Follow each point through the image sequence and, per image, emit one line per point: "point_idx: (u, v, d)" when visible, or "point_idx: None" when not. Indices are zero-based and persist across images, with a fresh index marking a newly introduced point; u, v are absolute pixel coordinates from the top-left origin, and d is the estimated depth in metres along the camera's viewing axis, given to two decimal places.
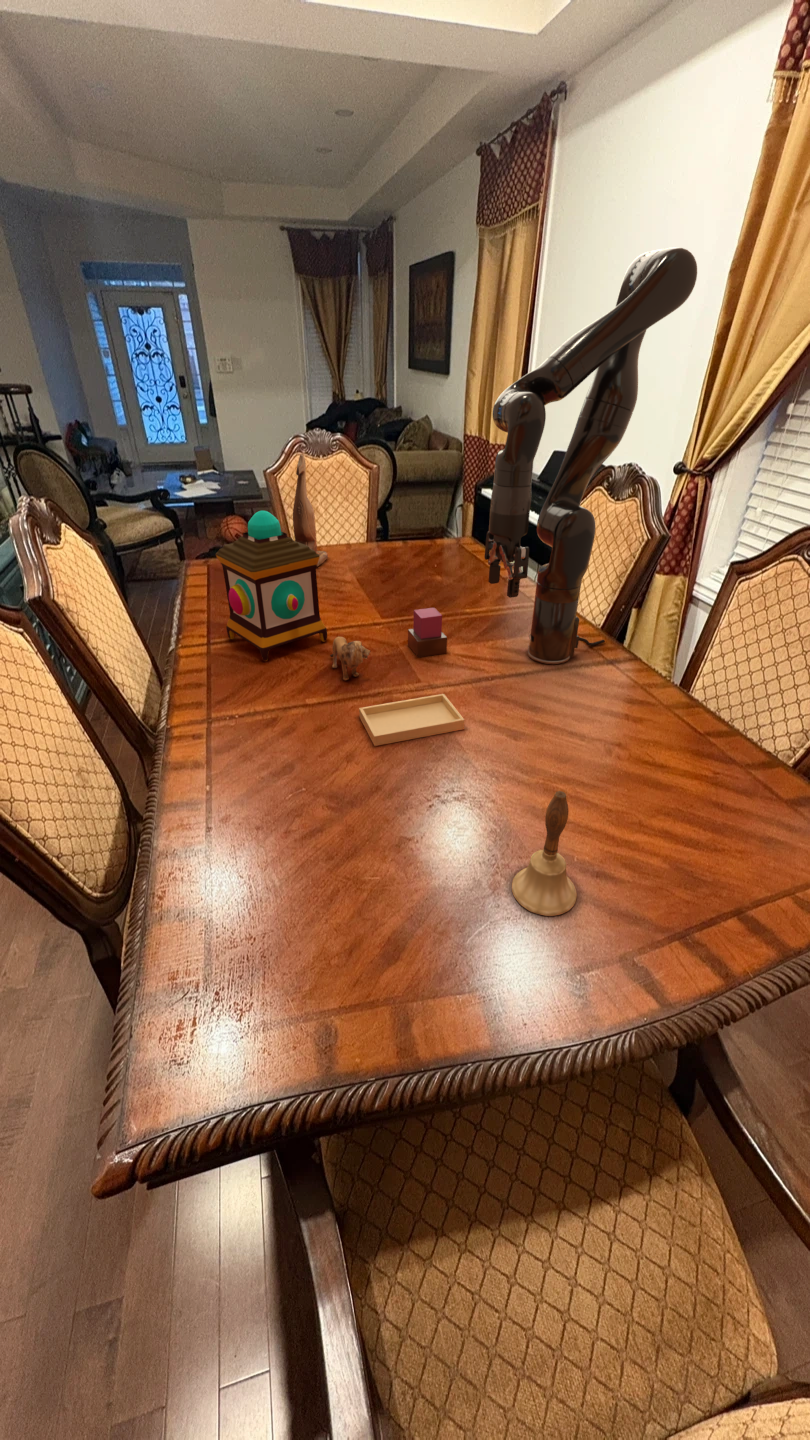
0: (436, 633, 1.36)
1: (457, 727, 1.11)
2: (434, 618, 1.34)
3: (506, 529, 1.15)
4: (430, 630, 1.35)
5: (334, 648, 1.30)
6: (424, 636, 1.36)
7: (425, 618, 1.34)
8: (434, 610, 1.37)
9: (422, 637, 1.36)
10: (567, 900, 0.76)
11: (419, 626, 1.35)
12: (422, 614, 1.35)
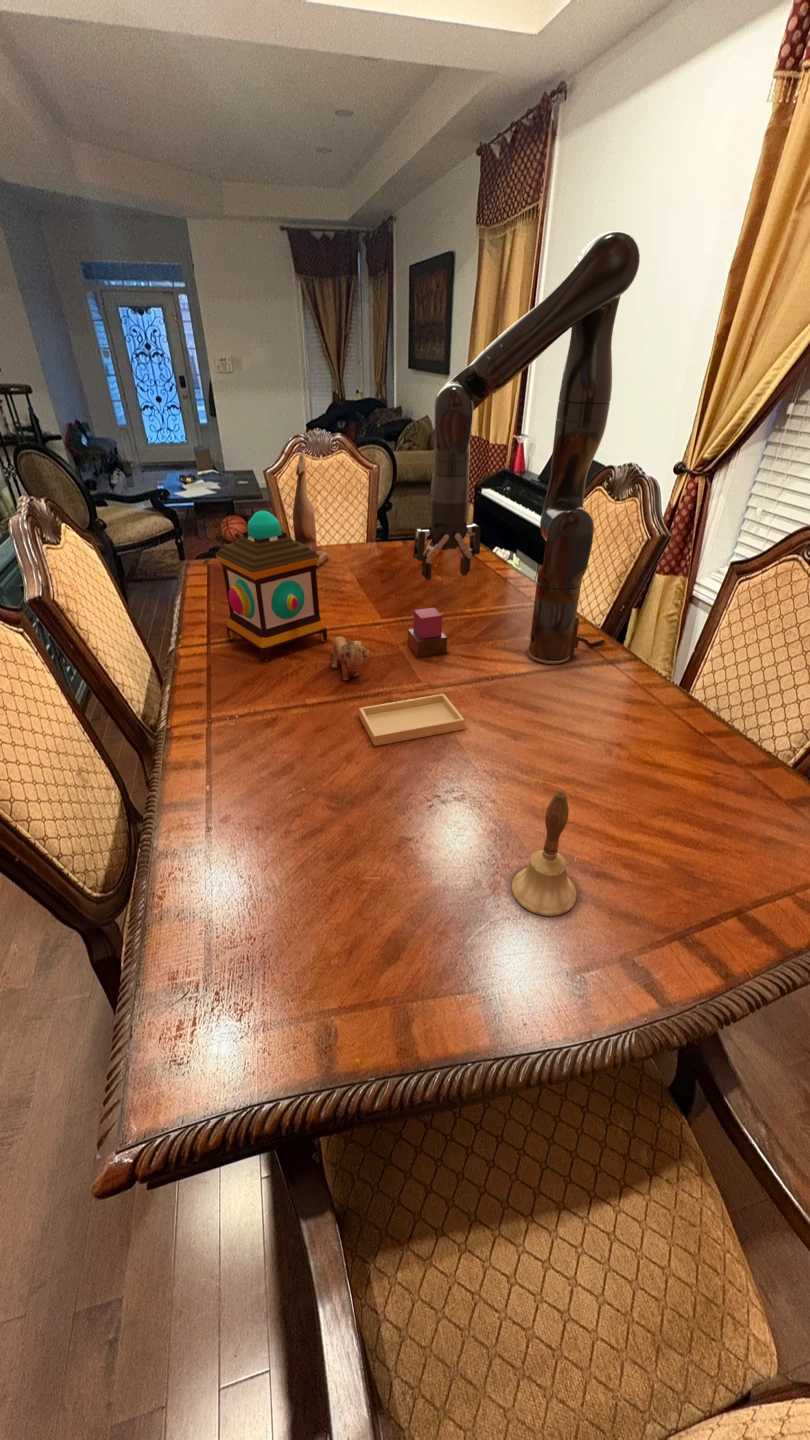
0: (436, 633, 1.36)
1: (457, 727, 1.11)
2: (434, 618, 1.34)
3: None
4: (430, 630, 1.35)
5: (334, 648, 1.30)
6: (424, 636, 1.36)
7: (425, 618, 1.34)
8: (434, 610, 1.37)
9: (422, 637, 1.36)
10: (567, 900, 0.76)
11: (419, 626, 1.35)
12: (422, 614, 1.35)
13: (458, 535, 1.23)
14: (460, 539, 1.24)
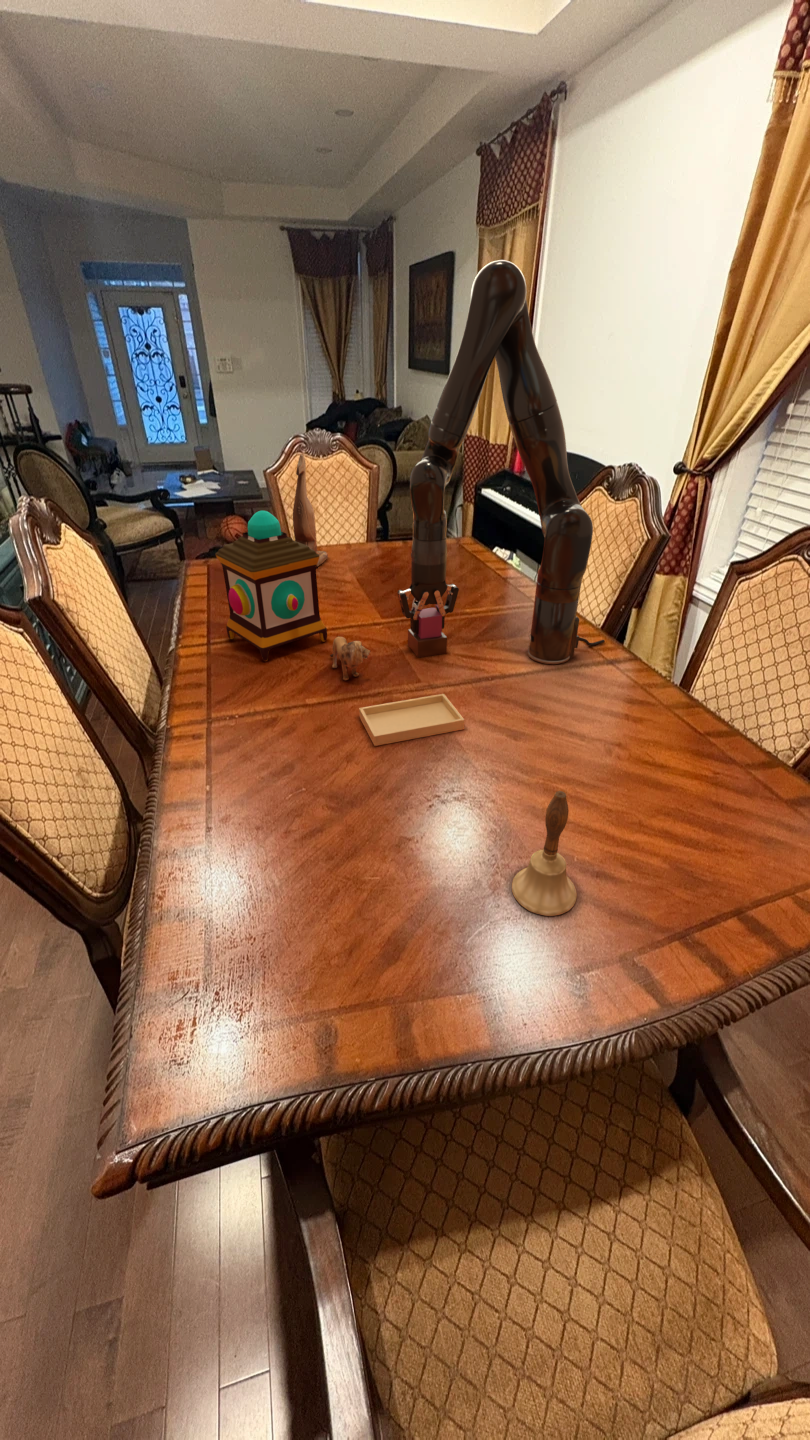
0: (436, 633, 1.36)
1: (457, 727, 1.11)
2: (434, 618, 1.34)
3: None
4: (430, 630, 1.35)
5: (334, 648, 1.30)
6: (424, 636, 1.36)
7: (425, 618, 1.34)
8: (434, 610, 1.37)
9: (422, 637, 1.36)
10: (567, 900, 0.76)
11: (419, 626, 1.35)
12: (422, 614, 1.35)
13: (437, 592, 1.32)
14: (438, 596, 1.33)
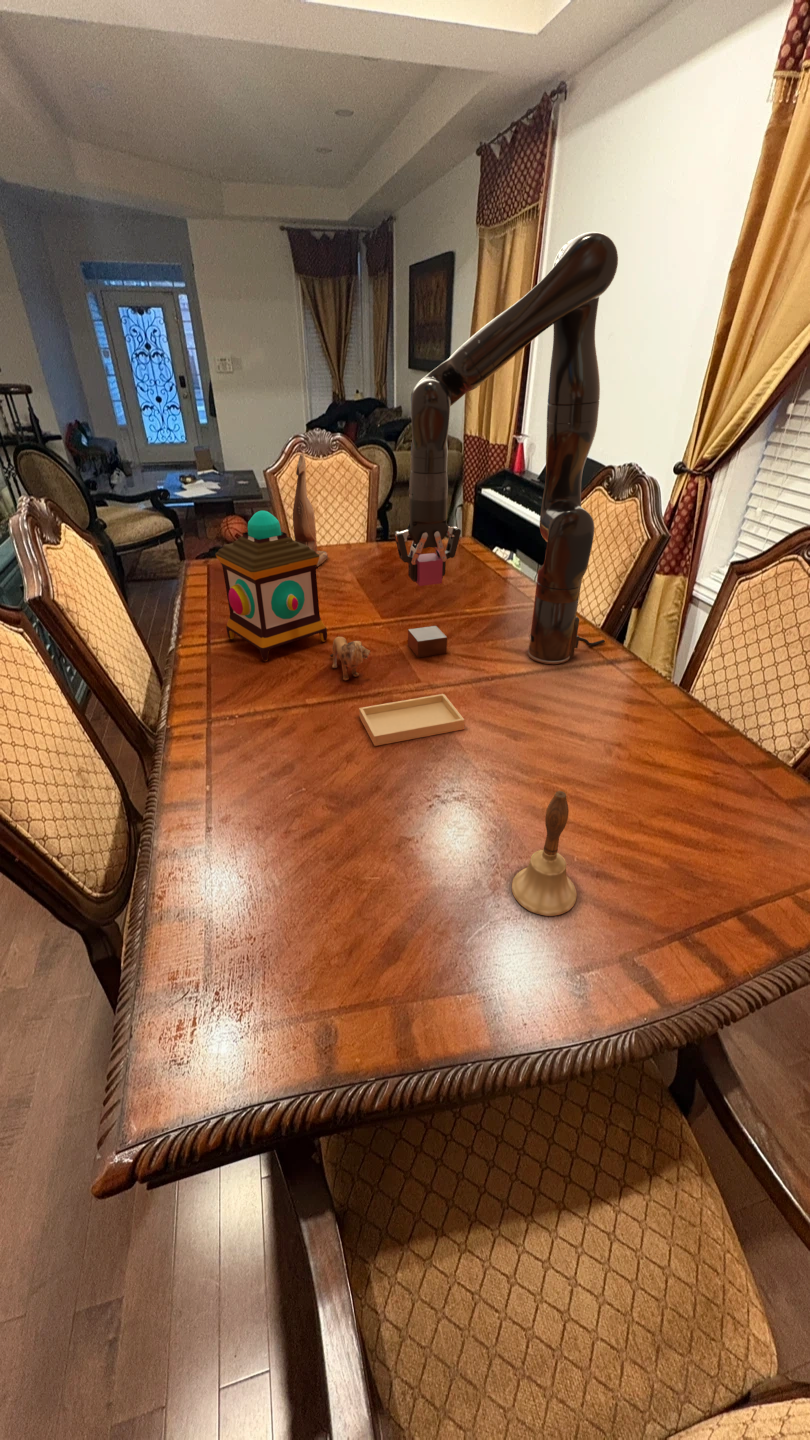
0: (436, 580, 1.26)
1: (457, 727, 1.11)
2: (434, 563, 1.24)
3: None
4: (429, 576, 1.25)
5: (334, 648, 1.30)
6: (423, 583, 1.25)
7: (424, 563, 1.23)
8: (434, 555, 1.26)
9: (421, 584, 1.25)
10: (567, 900, 0.76)
11: (418, 572, 1.25)
12: (421, 559, 1.24)
13: (437, 533, 1.21)
14: (439, 538, 1.22)
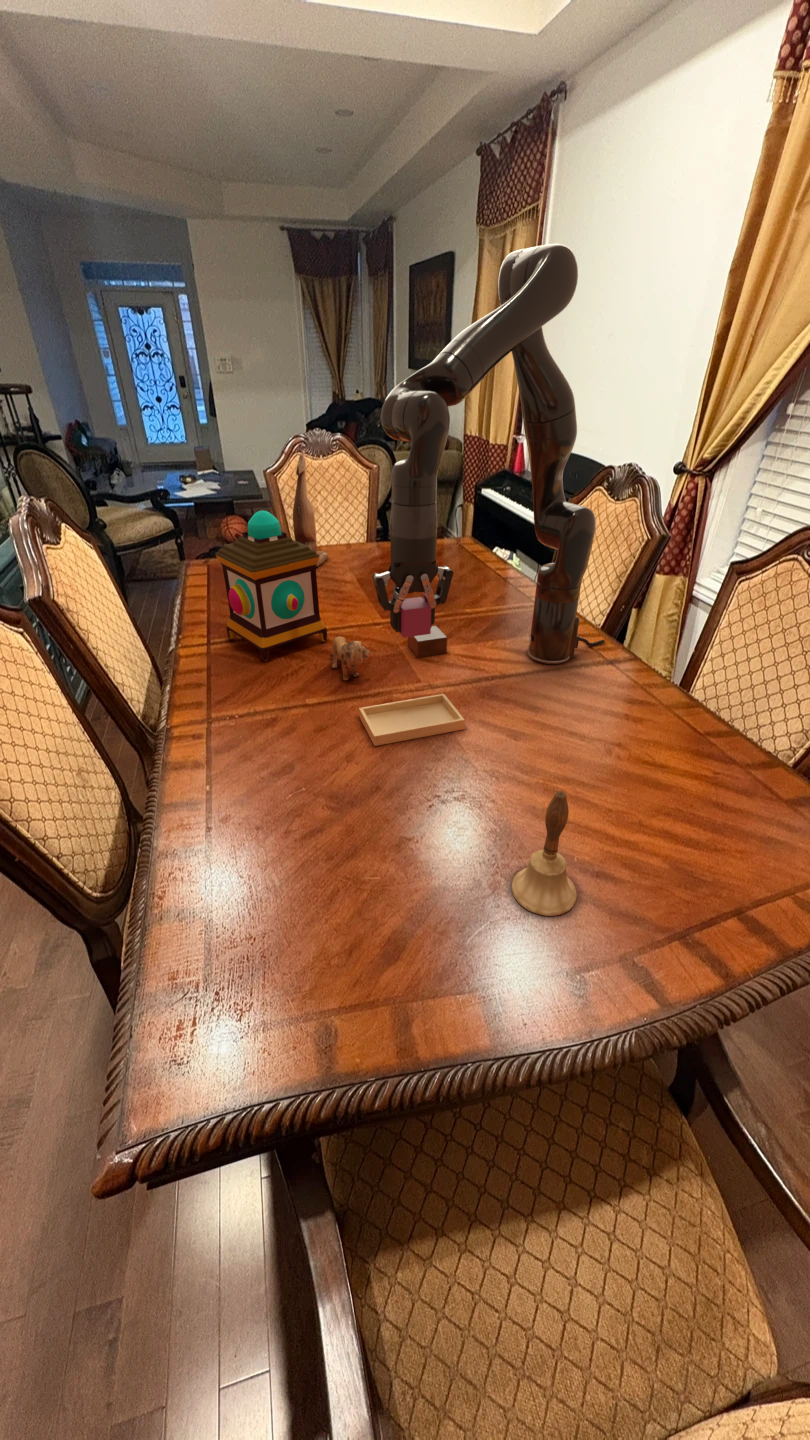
0: (423, 630, 1.05)
1: (457, 727, 1.11)
2: (420, 611, 1.02)
3: None
4: (415, 626, 1.04)
5: (334, 648, 1.30)
6: (408, 634, 1.04)
7: (409, 611, 1.02)
8: (421, 600, 1.05)
9: (405, 635, 1.04)
10: (567, 900, 0.76)
11: (401, 621, 1.03)
12: (405, 606, 1.03)
13: (425, 576, 1.00)
14: (426, 582, 1.01)
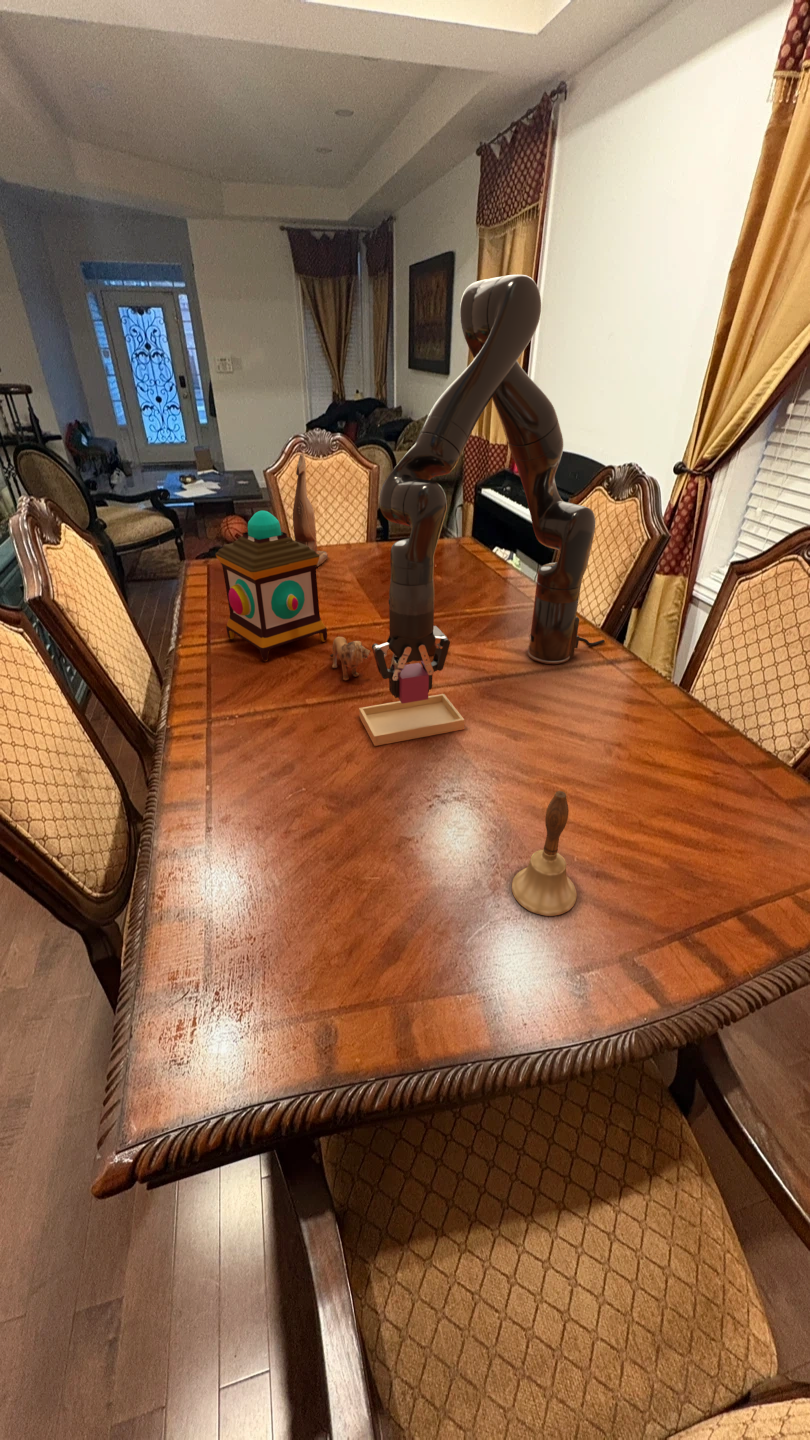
0: (421, 696, 1.08)
1: (457, 727, 1.11)
2: (418, 679, 1.06)
3: None
4: (413, 693, 1.07)
5: (334, 648, 1.30)
6: (406, 700, 1.08)
7: (407, 679, 1.05)
8: (419, 667, 1.09)
9: (404, 701, 1.08)
10: (567, 900, 0.76)
11: (400, 688, 1.07)
12: (403, 673, 1.07)
13: (423, 647, 1.04)
14: (424, 652, 1.05)
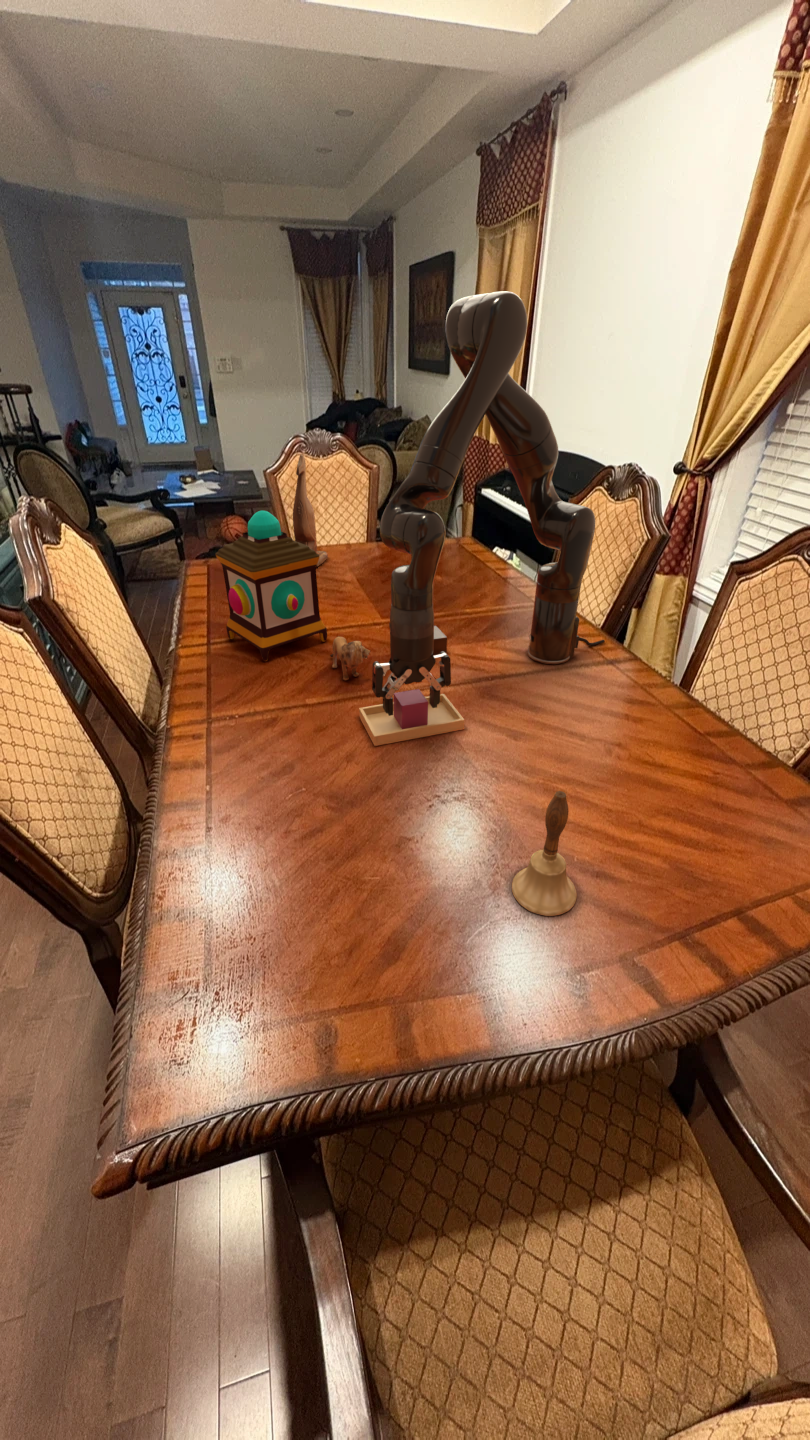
0: (421, 722, 1.11)
1: (457, 727, 1.11)
2: (418, 706, 1.09)
3: None
4: (413, 719, 1.10)
5: (334, 648, 1.30)
6: (406, 726, 1.11)
7: (407, 706, 1.08)
8: (419, 693, 1.12)
9: (404, 727, 1.10)
10: (567, 900, 0.76)
11: (400, 714, 1.10)
12: (403, 700, 1.09)
13: (423, 669, 1.06)
14: (426, 672, 1.07)
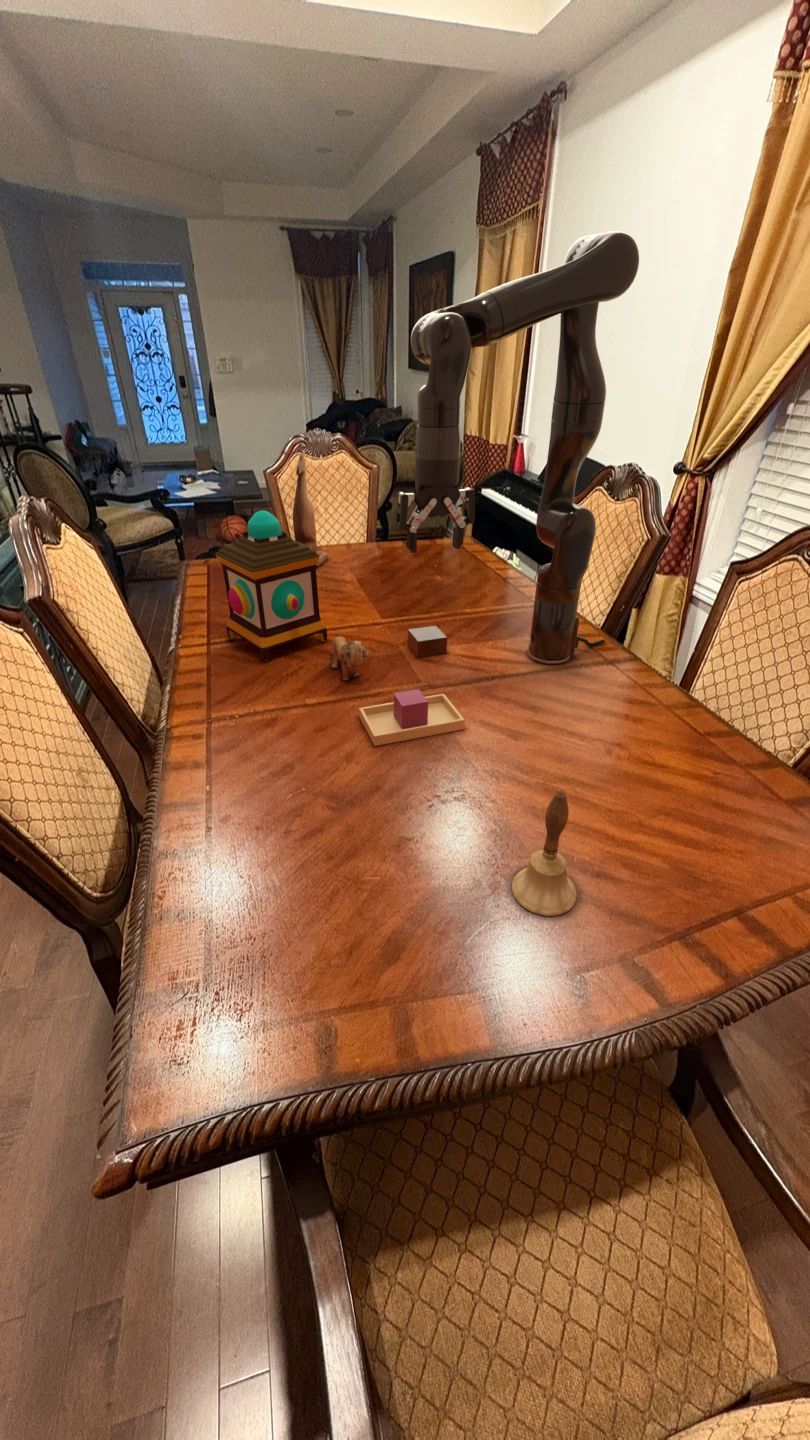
0: (421, 722, 1.11)
1: (457, 727, 1.11)
2: (418, 706, 1.09)
3: None
4: (413, 719, 1.10)
5: (334, 648, 1.30)
6: (406, 726, 1.11)
7: (407, 706, 1.08)
8: (419, 693, 1.12)
9: (404, 727, 1.10)
10: (567, 900, 0.76)
11: (400, 714, 1.10)
12: (403, 700, 1.09)
13: (448, 500, 1.05)
14: (450, 505, 1.06)
